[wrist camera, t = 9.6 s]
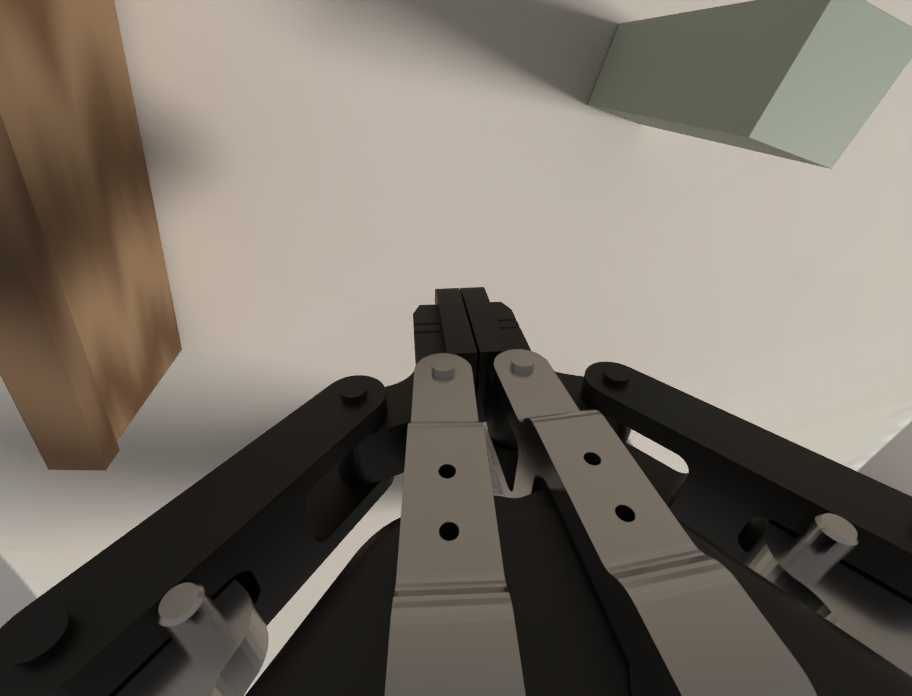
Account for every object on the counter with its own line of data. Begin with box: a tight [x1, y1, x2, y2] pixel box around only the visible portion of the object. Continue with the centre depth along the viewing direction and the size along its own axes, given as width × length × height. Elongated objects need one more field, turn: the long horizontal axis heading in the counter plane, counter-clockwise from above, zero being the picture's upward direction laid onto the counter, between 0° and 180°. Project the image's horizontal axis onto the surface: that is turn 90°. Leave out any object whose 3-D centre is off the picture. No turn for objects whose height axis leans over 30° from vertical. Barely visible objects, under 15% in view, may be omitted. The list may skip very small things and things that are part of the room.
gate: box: [0, 0, 182, 470], centre depth 14 cm, size 17×2×8 cm, turn 168°
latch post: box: [587, 0, 912, 169], centre depth 14 cm, size 3×3×10 cm
